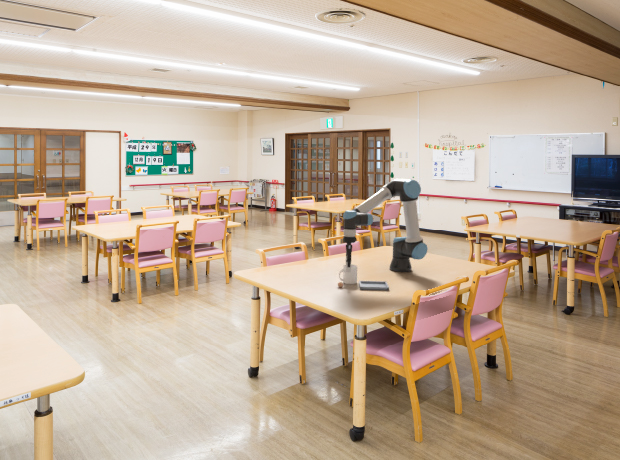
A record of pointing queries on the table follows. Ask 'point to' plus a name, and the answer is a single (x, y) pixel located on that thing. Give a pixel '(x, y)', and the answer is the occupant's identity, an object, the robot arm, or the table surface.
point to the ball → (340, 284)
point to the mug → (349, 275)
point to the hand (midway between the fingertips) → (348, 269)
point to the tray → (373, 285)
